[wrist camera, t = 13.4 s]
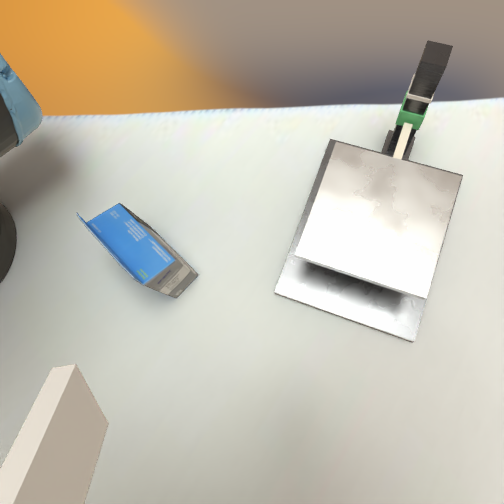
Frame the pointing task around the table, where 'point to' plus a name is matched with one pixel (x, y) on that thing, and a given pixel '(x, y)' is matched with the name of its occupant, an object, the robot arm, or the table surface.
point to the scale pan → (380, 218)
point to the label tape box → (141, 251)
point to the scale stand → (350, 288)
